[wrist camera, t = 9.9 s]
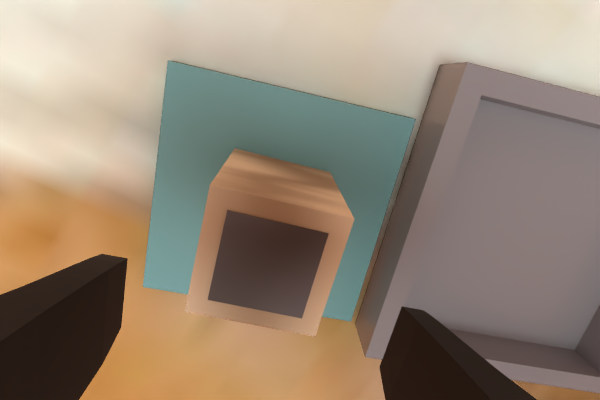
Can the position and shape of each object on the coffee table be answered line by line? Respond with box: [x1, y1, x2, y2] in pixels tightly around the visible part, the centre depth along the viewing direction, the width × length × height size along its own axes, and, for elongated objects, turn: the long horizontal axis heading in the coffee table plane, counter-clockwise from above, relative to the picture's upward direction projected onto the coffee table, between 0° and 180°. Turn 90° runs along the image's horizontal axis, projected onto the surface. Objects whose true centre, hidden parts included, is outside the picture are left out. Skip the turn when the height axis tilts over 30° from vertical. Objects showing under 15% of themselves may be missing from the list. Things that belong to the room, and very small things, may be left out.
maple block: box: [185, 148, 354, 337], centre depth 14 cm, size 4×4×6 cm
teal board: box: [143, 61, 416, 321], centre depth 18 cm, size 11×11×1 cm
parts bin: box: [355, 62, 600, 393], centre depth 18 cm, size 14×14×2 cm
